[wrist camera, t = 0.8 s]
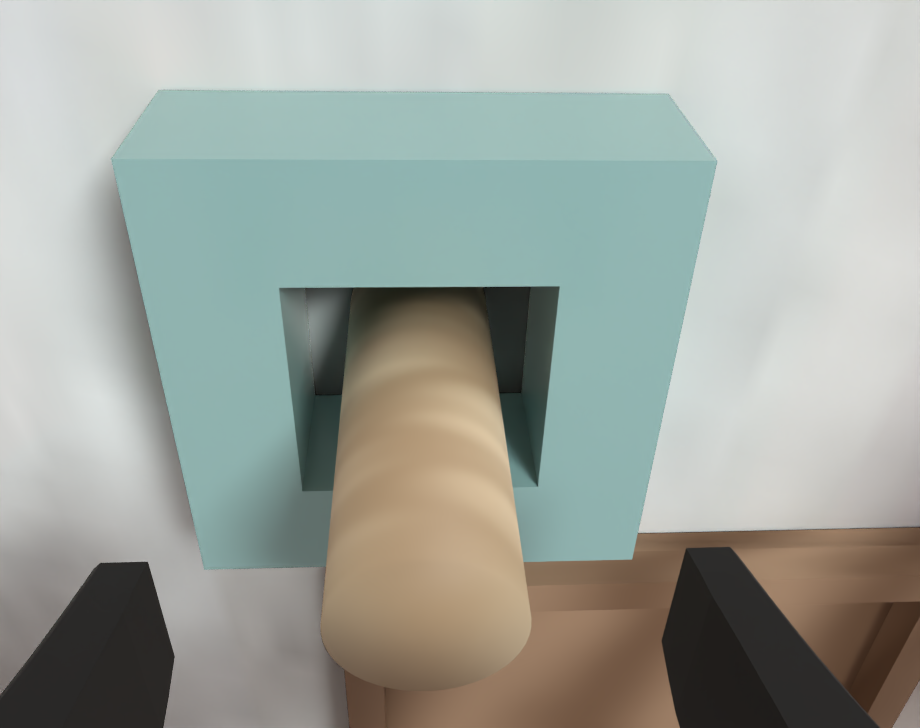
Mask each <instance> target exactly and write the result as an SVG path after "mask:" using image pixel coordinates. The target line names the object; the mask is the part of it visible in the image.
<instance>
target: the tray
mask: <svg viewBox="0 0 920 728" xmlns="http://www.w3.org/2000/svg"><path fill="white" fill-rule="evenodd" d="M704 547H731V548H732V549H733V550H734V551H735V552H736V554H737V555H738V556H739V557H740V559H741V560H742V561H743V563H744V564H745V565H746V567H747V568H748V569H749V570H750V572H751V573H752V574H753V576H754V577H755V578H756V580H757V581H758V582H759V583H760V585H761V586H762V587H763V589H764V590H765V591H766V592H767V594H768V595H769V596H770V598H771V599H772V600H773V601H774V603H775V604H776V605H777V607H778V608H779V609H780V610H781V612H782V613H783V614H784V615H785V617H786V618H787V619H788V620H789V622H790V623H791V624H792V625H793V627H794V628H795V629H796V630H797V632H798V633H799V634H800V635H801V637H802V638H803V639H804V640H805V641H806V643H807V644H808V645H809V646H810V647H811V649H812V650H813V651H814V652H815V654H816V655H817V656H818V657H819V658H820V659H821V661H822V662H823V663H824V664H825V665H826V666H827V668H828V669H829V670H830V671H831V672H832V673H833V675H834V676H835V677H836V678H837V679H838V680H839V682H840V683H841V684H842V685H843V686H844V687H845V689H846V690H847V691H848V692H849V693H850V694H851V696H852V697H853V698H854V699H855V700H856V701H857V702H858V703H859V705H860V706H861V707H862V708H863V709H864V710H865V711H866V712H867V714H868V715H869V716H870V717H871V718H872V719H873V720H874V721H875V722H876V723H877V725H878V726H879V727H880V728H892V727H893V725H894V723H895V721H896V720H897V718H898V716H899V715H900V713H901V711H902V709H903V708H904V706H905V704H906V702H907V701H908V699H909V697H910V696H911V694H912V692H913V690H914V689H915V687H916V685H917V683H918V682H919V680H920V527H918V528H873V529H827V530H781V531H736V532H690V533H644V534H637V539H636V544H635V548H634V553H633V558H632V560H589V561H547V562H523V563H524V570H525V577H526V584H527V591H528V598H529V605H530V612H531V631H530V635H529V638H528V640H527V642H526V644H525V646H524V647H523V649H522V650H521V652H520V653H519V654H518V655H517V656H516V657H515V659H514V660H512V661H511V662H510V663H509V664H508V665H507V666H505V667H504V668H502V669H501V670H499V671H498V672H496V673H494V674H492V675H490V676H488V677H486V678H484V679H482V680H479V681H477V682H474V683H471V684H468V685H464V686H460V687H456V688H451V689H444V690H436V691H407V690H398V689H392V688H387V687H383V686H379V685H375V684H372V683H370V682H367V681H364V680H362V679H360V678H358V677H356V676H354V675H352V674H351V673H349V672H347V671H346V670H345V669H344V673H345V684H346V695H347V706H348V717H349V728H680V726H679V723H678V720H677V717H676V713H675V708H674V703H673V698H672V694H671V689H670V684H669V679H668V674H667V668H666V663H665V658H664V652H663V647H662V641H661V640H662V637H663V633H664V629H665V625H666V622H667V618H668V614H669V610H670V607H671V603H672V599H673V595H674V592H675V588H676V584H677V580H678V576H679V573H680V569H681V565H682V561H683V558H684V554H685V550H686V548H704Z"/></svg>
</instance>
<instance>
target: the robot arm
mask: <svg viewBox="0 0 920 728" xmlns="http://www.w3.org/2000/svg"><path fill="white" fill-rule="evenodd" d="M661 641H662V647H663V652H664V658H665V663H666V668H667V674H668V679H669V684H670V689H671V694H672V698H673V703H674V708H675V713H676V717H677V720H678V723H679V726H680V728H880V727H879V726H878V725H877V723H876V722H875V721H874V720H873V719H872V718H871V717H870V716H869V715H868V714H867V712H866V711H865V710H864V709H863V708H862V707H861V706H860V705H859V703H858V702H857V701H856V700H855V699H854V698H853V697H852V696H851V694H850V693H849V692H848V691H847V690H846V689H845V687H844V686H843V685H842V684H841V683H840V682H839V680H838V679H837V678H836V677H835V676H834V675H833V673H832V672H831V671H830V670H829V669H828V668H827V666H826V665H825V664H824V663H823V662H822V661H821V659H820V658H819V657H818V656H817V655H816V654H815V652H814V651H813V650H812V649H811V647H810V646H809V645H808V644H807V643H806V641H805V640H804V639H803V638H802V637H801V635H800V634H799V633H798V632H797V630H796V629H795V628H794V627H793V625H792V624H791V623H790V622H789V620H788V619H787V618H786V617H785V615H784V614H783V613H782V612H781V610H780V609H779V608H778V607H777V605H776V604H775V603H774V601H773V600H772V599H771V598H770V596H769V595H768V594H767V592H766V591H765V590H764V589H763V587H762V586H761V585H760V583H759V582H758V581H757V580H756V578H755V577H754V576H753V574H752V573H751V572H750V570H749V569H748V568H747V567H746V565H745V564H744V563H743V561H742V560H741V559H740V557H739V556H738V555H737V554H736V552H735V551H734V550H733V549H732V548H731V547H704V548H686V550H685V554H684V558H683V561H682V565H681V569H680V573H679V576H678V580H677V584H676V588H675V592H674V595H673V599H672V603H671V607H670V610H669V614H668V618H667V622H666V625H665V629H664V633H663V637H662V640H661ZM174 657H175V656H174V653H173V649H172V646H171V642H170V639H169V635H168V632H167V628H166V625H165V621H164V618H163V614H162V610H161V607H160V603H159V600H158V596H157V593H156V589H155V586H154V582H153V579H152V575H151V572H150V568H149V564H148V562H122V563H100V564H99V565H98V566H97V567H96V568H94V569H93V571H92V572H91V574H90V575H89V577H88V578H87V579H86V581H85V582H84V584H83V585H82V586H81V588H80V589H79V591H78V592H77V594H76V595H75V596H74V598H73V599H72V601H71V602H70V603H69V605H68V606H67V608H66V609H65V610H64V612H63V613H62V615H61V616H60V617H59V619H58V620H57V621H56V623H55V624H54V626H53V627H52V628H51V630H50V631H49V632H48V634H47V635H46V636H45V638H44V639H43V640H42V642H41V643H40V645H39V646H38V647H37V649H36V650H35V651H34V653H33V654H32V655H31V657H30V658H29V659H28V661H27V662H26V663H25V665H24V666H23V667H22V668H21V670H20V671H19V672H18V673H17V675H16V676H15V677H14V679H13V680H12V681H11V682H10V684H9V685H8V686H7V688H6V689H5V690H4V691H3V693H2V694H1V695H0V728H163V726H164V720H165V714H166V708H167V703H168V697H169V690H170V683H171V677H172V670H173V664H174Z"/></svg>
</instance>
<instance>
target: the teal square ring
mask: <svg viewBox="0 0 920 728" xmlns="http://www.w3.org/2000/svg"><path fill="white" fill-rule="evenodd" d="M111 160H112V165H113V169H114V173H115V178H116V182H117V187H118V191H119V195H120V200H121V204H122V209H123V213H124V218H125V222H126V226H127V231H128V235H129V240H130V244H131V248H132V253H133V257H134V262H135V266H136V270H137V275H138V279H139V284H140V288H141V292H142V297H143V301H144V306H145V310H146V315H147V319H148V323H149V328H150V332H151V337H152V341H153V345H154V350H155V354H156V359H157V363H158V367H159V372H160V376H161V381H162V385H163V389H164V394H165V398H166V403H167V407H168V412H169V416H170V420H171V425H172V429H173V434H174V438H175V442H176V447H177V451H178V456H179V460H180V464H181V469H182V473H183V478H184V482H185V486H186V491H187V495H188V500H189V504H190V509H191V513H192V517H193V522H194V526H195V531H196V535H197V539H198V544H199V548H200V553H201V557H202V561H203V566H204V570H208V569H250V568H293V567H326V561H327V550H328V540H329V529H330V518H331V508H332V497H333V487H334V476H335V465H336V455H337V444H338V434H339V423H340V412H341V402H342V395H315V387H314V376H313V365H312V355H311V344H310V334H309V323H308V313H307V302H306V292H305V288H337V287H524V286H530V297H529V309H528V320H527V332H526V344H525V356H524V367H523V379H522V391H521V393H499V396H500V403H501V410H502V417H503V424H504V431H505V438H506V445H507V452H508V458H509V465H510V472H511V479H512V486H513V493H514V500H515V507H516V514H517V521H518V528H519V535H520V542H521V549H522V556H523V562H547V561H589V560H632V558H633V553H634V548H635V544H636V539H637V534H638V530H639V525H640V520H641V516H642V511H643V506H644V502H645V497H646V492H647V488H648V483H649V478H650V474H651V469H652V464H653V459H654V455H655V450H656V445H657V441H658V436H659V431H660V427H661V422H662V417H663V413H664V408H665V403H666V399H667V394H668V389H669V385H670V380H671V375H672V371H673V366H674V361H675V357H676V352H677V347H678V342H679V338H680V333H681V328H682V324H683V319H684V314H685V310H686V305H687V300H688V296H689V291H690V286H691V282H692V277H693V272H694V268H695V263H696V258H697V254H698V249H699V244H700V239H701V235H702V230H703V225H704V221H705V216H706V211H707V207H708V202H709V197H710V193H711V188H712V183H713V179H714V174H715V169H716V165H717V160H716V158H715V157H714V156H713V154H712V153H711V152H710V150H709V149H708V147H707V146H706V145H705V143H704V142H703V141H702V139H701V138H700V136H699V135H698V134H697V132H696V131H695V130H694V128H693V127H692V125H691V124H690V123H689V121H688V120H687V119H686V117H685V116H684V115H683V113H682V112H681V110H680V109H679V108H678V106H677V105H676V104H675V102H674V101H673V99H672V98H671V97H670V95H669V94H616V93H483V92H350V91H216V90H158V92H157V93H156V95H155V96H154V98H153V99H152V100H151V102H150V103H149V105H148V106H147V108H146V109H145V111H144V112H143V114H142V115H141V116H140V118H139V119H138V121H137V122H136V124H135V125H134V127H133V128H132V130H131V131H130V132H129V134H128V135H127V137H126V138H125V140H124V141H123V143H122V144H121V146H120V147H119V148H118V150H117V151H116V153H115V154H114V156H113V157H112V159H111Z"/></svg>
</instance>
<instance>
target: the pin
mask: <svg viewBox="0 0 920 728" xmlns="http://www.w3.org/2000/svg"><path fill="white" fill-rule="evenodd" d="M530 631H531V612H530V605H529V598H528V591H527V584H526V577H525V570H524V563H523V556H522V549H521V542H520V535H519V528H518V521H517V514H516V507H515V500H514V493H513V486H512V479H511V472H510V465H509V458H508V452H507V445H506V438H505V431H504V424H503V417H502V410H501V403H500V396H499V389H498V382H497V375H496V368H495V361H494V354H493V347H492V340H491V333H490V326H489V319H488V312H487V305H486V298H485V293H484V289H483V287H354V289H353V292H352V297H351V306H350V317H349V327H348V338H347V349H346V359H345V370H344V380H343V391H342V402H341V412H340V423H339V434H338V444H337V455H336V465H335V476H334V487H333V497H332V508H331V518H330V529H329V540H328V550H327V561H326V572H325V582H324V593H323V603H322V614H321V637H322V641H323V644H324V646H325V648H326V650H327V652H328V653H329V655H330V656H331V657H332V658H333V660H334V661H335V662H336V663H337V664H338V665H340V666H341V667H342V668H343V669H345V670H346V671H347V672H349V673H351V674H352V675H354V676H356V677H358V678H360V679H362V680H364V681H367V682H370V683H372V684H375V685H379V686H383V687H387V688H392V689H398V690H407V691H436V690H444V689H451V688H456V687H460V686H464V685H468V684H471V683H474V682H477V681H479V680H482V679H484V678H486V677H488V676H490V675H492V674H494V673H496V672H498V671H499V670H501V669H502V668H504V667H505V666H507V665H508V664H509V663H510V662H511V661H512V660H514V659H515V657H516V656H517V655H518V654H519V653H520V652H521V650H522V649H523V647H524V646H525V644H526V642H527V640H528V638H529V635H530Z"/></svg>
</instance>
